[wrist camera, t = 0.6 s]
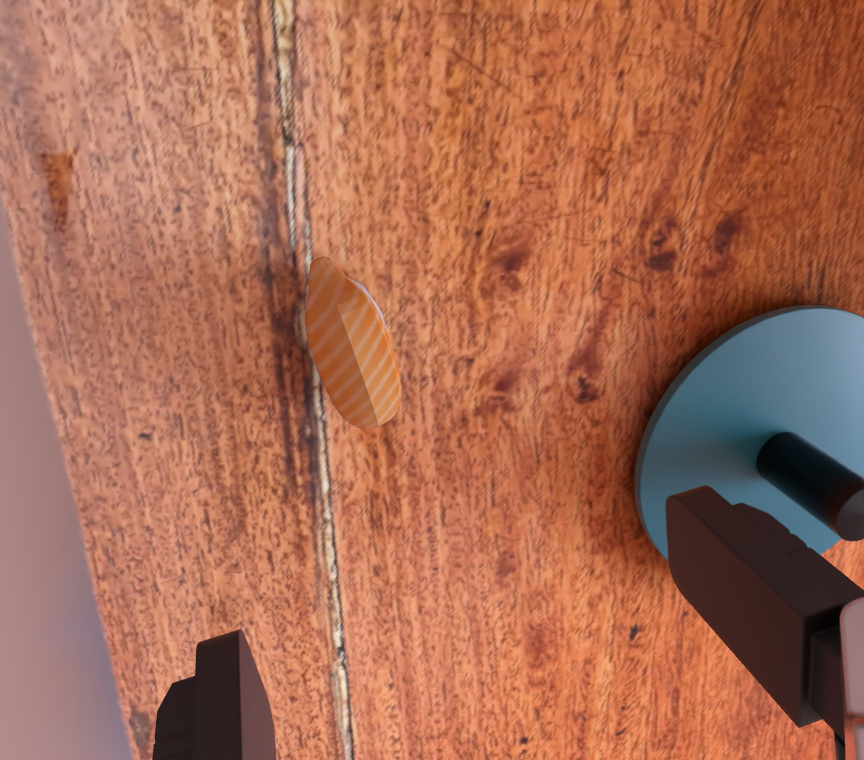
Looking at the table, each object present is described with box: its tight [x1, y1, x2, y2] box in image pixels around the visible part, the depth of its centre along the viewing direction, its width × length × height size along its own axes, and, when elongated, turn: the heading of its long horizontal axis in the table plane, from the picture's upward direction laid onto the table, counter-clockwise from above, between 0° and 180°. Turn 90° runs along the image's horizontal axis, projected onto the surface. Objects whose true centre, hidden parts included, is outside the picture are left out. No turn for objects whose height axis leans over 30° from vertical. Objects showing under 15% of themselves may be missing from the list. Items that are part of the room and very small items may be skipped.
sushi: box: [306, 257, 401, 428], centre depth 26 cm, size 3×6×3 cm, turn 17°
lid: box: [634, 305, 864, 561], centre depth 31 cm, size 13×13×6 cm
